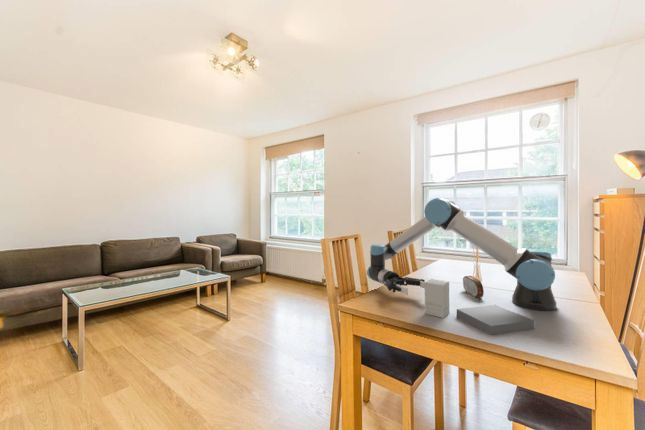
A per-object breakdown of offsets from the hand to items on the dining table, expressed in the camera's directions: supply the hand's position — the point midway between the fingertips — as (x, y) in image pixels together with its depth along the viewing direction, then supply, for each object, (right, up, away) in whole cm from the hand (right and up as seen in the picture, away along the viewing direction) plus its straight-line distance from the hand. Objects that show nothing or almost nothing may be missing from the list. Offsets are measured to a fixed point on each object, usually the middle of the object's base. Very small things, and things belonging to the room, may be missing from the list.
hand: (419, 289), depth 120 cm
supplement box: (+4, -7, -9) cm, 12 cm away
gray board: (+21, -7, -18) cm, 28 cm away
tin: (+30, -7, +14) cm, 34 cm away
